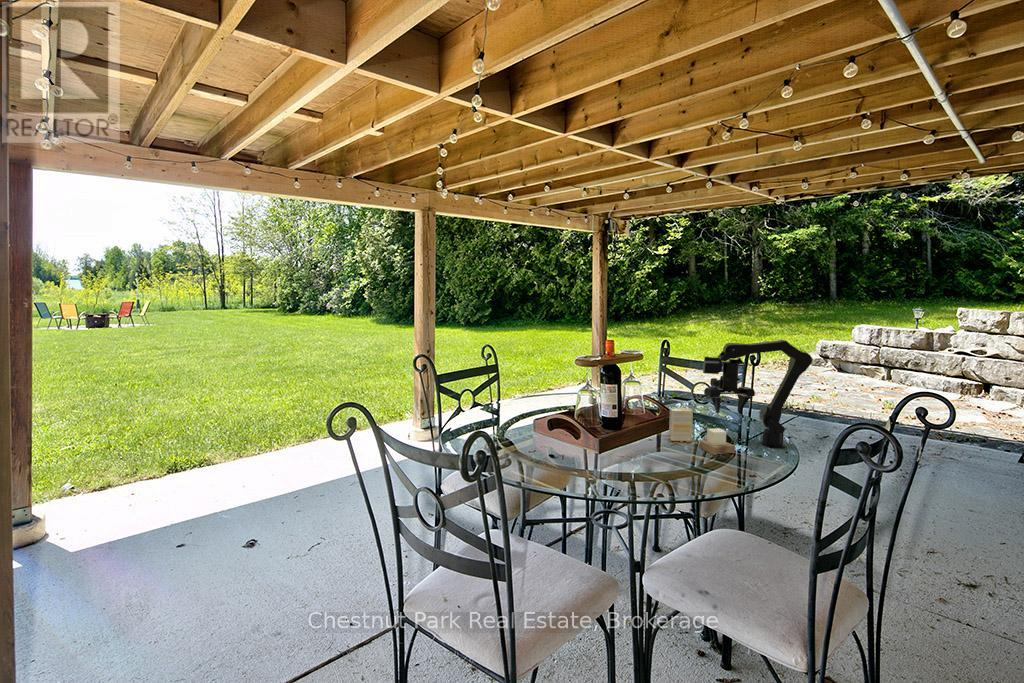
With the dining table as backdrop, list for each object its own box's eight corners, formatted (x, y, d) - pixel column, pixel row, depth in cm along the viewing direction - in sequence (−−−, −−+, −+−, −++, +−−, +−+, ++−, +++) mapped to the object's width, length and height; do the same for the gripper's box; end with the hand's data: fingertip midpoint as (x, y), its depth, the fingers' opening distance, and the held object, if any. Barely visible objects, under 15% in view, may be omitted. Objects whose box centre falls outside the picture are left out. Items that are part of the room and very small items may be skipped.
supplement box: (688, 439, 210) (690, 407, 208) (691, 442, 205) (693, 410, 203) (668, 438, 210) (669, 407, 209) (670, 441, 206) (672, 410, 204)
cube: (719, 441, 197) (719, 428, 197) (725, 445, 192) (726, 432, 192) (706, 441, 197) (707, 428, 196) (712, 445, 192) (713, 432, 191)
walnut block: (718, 447, 200) (719, 438, 200) (734, 454, 192) (735, 445, 191) (699, 449, 198) (699, 440, 198) (714, 456, 189) (714, 447, 189)
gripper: (740, 371, 212) (738, 407, 214) (698, 371, 210) (696, 408, 211) (756, 375, 201) (754, 414, 203) (712, 376, 199) (710, 415, 200)
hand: (728, 412), depth 205 cm, fingers open, 9 cm apart
